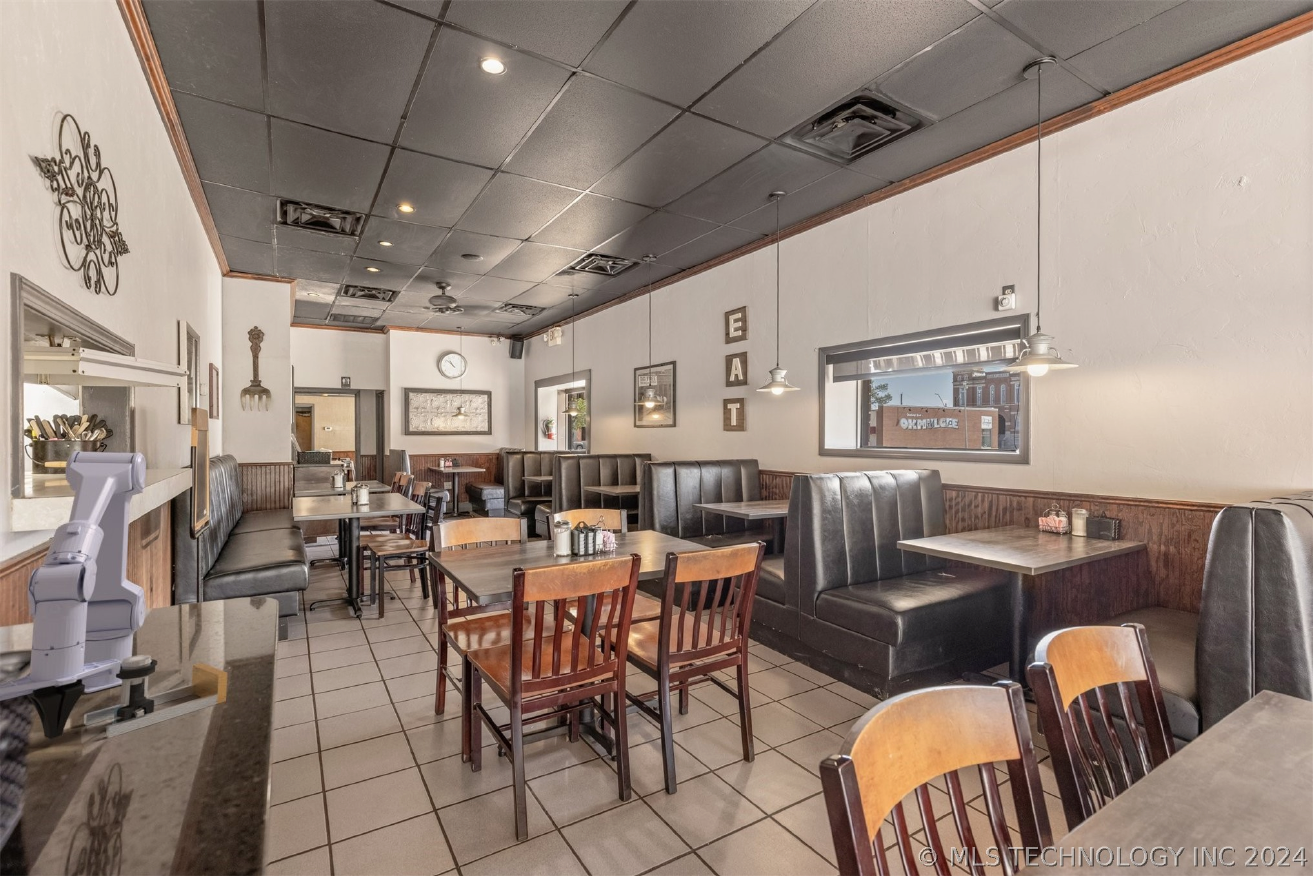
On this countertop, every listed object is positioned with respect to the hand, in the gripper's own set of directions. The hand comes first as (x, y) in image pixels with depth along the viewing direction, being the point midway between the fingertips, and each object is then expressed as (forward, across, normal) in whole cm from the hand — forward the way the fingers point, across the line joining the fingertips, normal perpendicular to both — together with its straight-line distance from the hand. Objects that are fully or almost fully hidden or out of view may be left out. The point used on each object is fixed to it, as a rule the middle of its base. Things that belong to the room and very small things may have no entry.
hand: (53, 735), depth 90 cm
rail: (+1, +12, 0) cm, 13 cm away
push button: (+1, +9, 0) cm, 9 cm away
